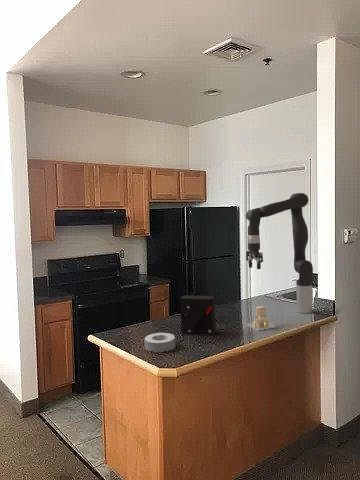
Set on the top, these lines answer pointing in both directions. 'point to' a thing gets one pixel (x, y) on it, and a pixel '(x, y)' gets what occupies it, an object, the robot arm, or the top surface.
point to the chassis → (257, 327)
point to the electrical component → (198, 315)
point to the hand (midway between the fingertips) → (254, 268)
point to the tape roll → (160, 342)
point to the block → (260, 315)
